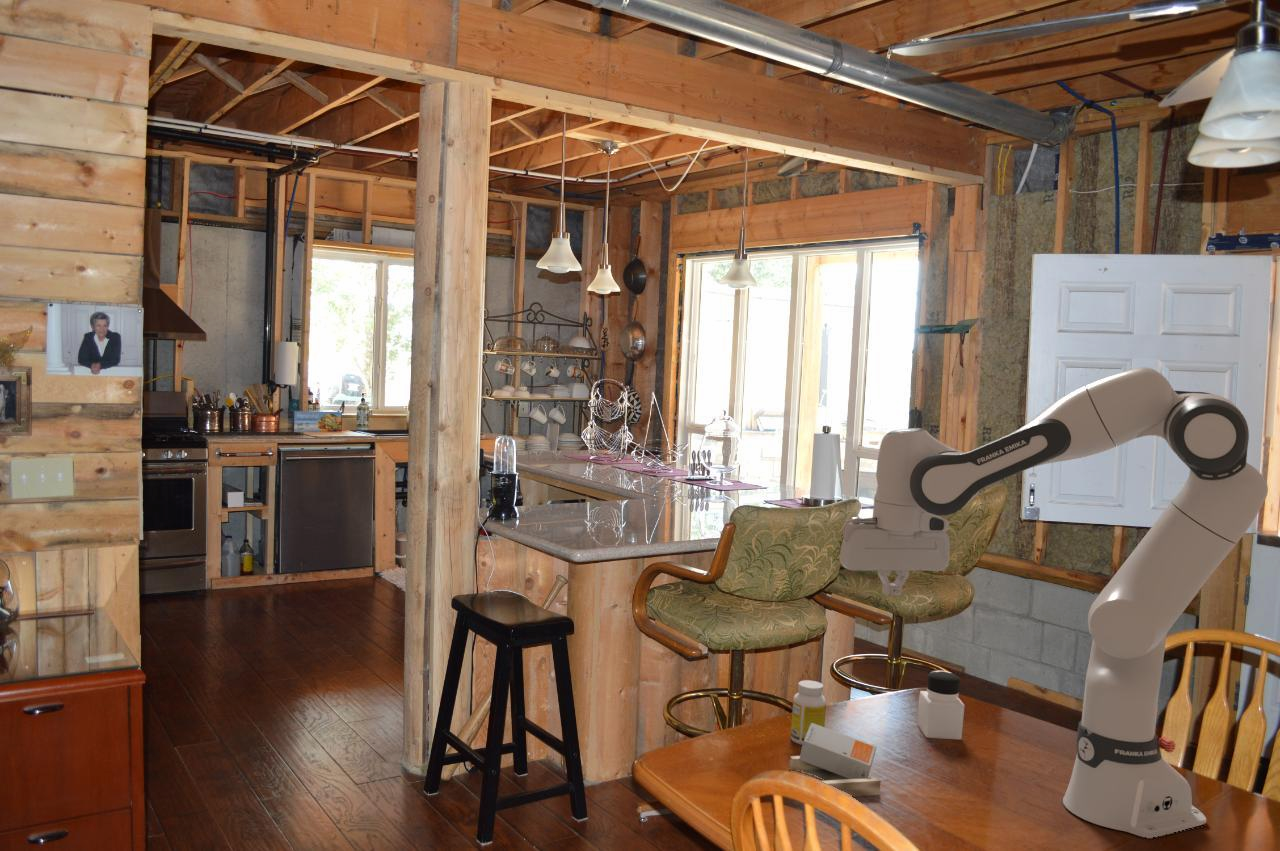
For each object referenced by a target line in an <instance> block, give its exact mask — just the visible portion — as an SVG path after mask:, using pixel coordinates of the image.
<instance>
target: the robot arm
mask: <svg viewBox="0 0 1280 851" xmlns="http://www.w3.org/2000/svg"><path fill="white" fill-rule="evenodd" d="M1148 436H1149V437H1150V436H1151V437H1152V436H1156V437H1159V438H1162V439H1164V440H1165V441H1166V443H1167V444H1168V446H1169V447H1170V450H1172V451H1173V453H1174V454H1175V455H1177V457H1178V458H1179V459H1180V461H1182V462H1183V463H1184V464H1185V465H1186V466H1187V468H1189V474H1188V477H1187V479H1186V481H1185V483H1184V486H1183V487H1182V488H1181V489H1180V491H1179V492H1178V493H1177V494H1176V495H1175V497H1174V498H1173V499H1172V501H1171V502H1169V504H1168V505H1167V507H1166V508H1165V509H1164V511H1163V512H1162V513H1161V514H1160V516H1159V517H1158V518H1157V520H1156V521H1155V522H1154V523H1153V525H1152V526H1151V527H1150V528H1149V530H1148V531H1147V532H1146V534H1145V535H1144V536H1143V538H1142V539H1141V540H1140V541H1139V543H1138V544H1137V546H1136V547H1135V548H1134V550H1132V552H1131V553H1130V555H1129V556H1128V557H1127V559H1126V560H1124V562H1123V564H1121V566H1120V567H1119V569H1118V570H1117V572H1115V574H1114V576H1112V577H1111V579H1110V580H1109V582H1108V583H1106V585H1105V586H1104V587H1103V589H1102V590H1100V593H1099V594H1098V596H1097V597H1096V598H1095V599H1094V601H1093V602H1092V603H1091V606H1090V607H1089V611H1088V615H1087V626H1088V630H1089V633H1090V636H1091V638H1092V643H1091V647H1090V655H1089V660H1088V666H1087V670H1086V675H1085V684H1084V685H1085V686H1084V693H1083V702H1082V703H1083V704H1082V712H1081V713H1082V714H1081V720H1080V721H1079V722H1078V726H1077V727H1078V728H1077V731H1076V732H1077V733H1076V752H1077V753H1076V757H1075V760H1074V763H1073V764H1074V765H1073V768H1072V771H1071V772H1072V773H1071V776H1070V780H1069V783H1068V785H1067V789H1066V792H1065V793H1064V796H1063V798H1062V803H1063V805H1064V807H1065V808H1066V809H1067V810H1068V811H1070V812H1071V813H1072V814H1074V815H1075V816H1077V817H1078V818H1081V819H1083V820H1084V821H1086V822H1090V823H1092V824H1094V825H1098V826H1101V827H1105V828H1109V829H1113V830H1116V831H1122V832H1126V833H1130V834H1133V835H1135V836H1138V837H1142V838H1145V837H1146V838H1145V839H1153V837H1155V838H1159V837H1163V836H1167V835H1170V834H1171V835H1172V834H1175V833H1174V832H1176V833H1179V832H1178V831H1180V832H1183V831H1182V830H1184V831H1186V830H1185V829H1188V828H1192V827H1195V826H1199V825H1202V824H1204V823H1206V822H1207V817H1206V815H1204V813H1203V812H1201V810H1199V809H1198V808H1196V807H1195V806H1194V805H1193V804H1192V800H1193V799H1192V789H1191V786H1190V783H1189V781H1188V780H1187V779H1186V778H1185V777H1184V776H1183V775H1182V774H1181V773H1180V772H1178V771H1177V770H1176V769H1175V768H1174V767H1173V766H1172V765H1170V763H1169V762H1167V760H1166V759H1164V758H1163V757H1162V752H1161V749H1162V750H1164V751H1165V752H1167V753H1170V754H1171V753H1173V752H1174V750H1175V749H1176V748H1177V746H1176V743H1175V741H1174V740H1172V739H1169V738H1167V737H1166V736H1163V737H1158V735H1157V734H1156V725H1157V714H1158V713H1157V712H1158V703H1159V694H1160V688H1161V680H1162V674H1163V672H1162V671H1163V668H1164V667H1163V665H1164V660H1165V659H1164V657H1165V649H1166V643H1167V634H1168V633H1169V631H1170V630H1171V628H1172V627H1173V626H1174V624H1175V623H1176V621H1177V620H1178V619H1179V618H1180V616H1182V614H1183V613H1184V611H1185V610H1186V609H1187V607H1188V606H1189V605H1190V603H1191V602H1192V601H1193V600H1194V598H1195V597H1196V596H1197V594H1198V593H1199V591H1200V590H1201V588H1202V587H1203V586H1204V584H1206V582H1207V580H1208V579H1210V577H1211V576H1212V574H1213V573H1214V572H1215V571H1216V570H1217V568H1218V567H1219V566H1220V565H1221V563H1223V561H1224V560H1225V559H1226V557H1227V556H1229V554H1230V553H1231V551H1232V550H1233V549H1234V548H1235V547H1236V546H1237V543H1239V542H1240V540H1241V539H1242V538H1243V536H1244V535H1245V534H1246V532H1247V531H1248V530H1249V528H1250V527H1251V525H1252V524H1253V522H1254V520H1255V519H1256V517H1257V515H1258V514H1259V512H1260V510H1261V509H1262V506H1263V504H1264V503H1265V500H1266V498H1267V496H1268V492H1269V488H1268V483H1267V481H1266V479H1265V477H1264V476H1263V475H1262V473H1260V471H1259V470H1258V469H1257V468H1255V467H1254V466H1253V465H1251V464H1250V463H1248V462H1247V460H1248V458H1247V457H1248V447H1249V439H1250V438H1249V437H1250V433H1249V426H1248V423H1247V420H1246V418H1245V416H1244V415H1243V413H1242V411H1241V410H1240V409H1239V407H1238V406H1236V405H1235V403H1233V402H1232V401H1231V400H1230V399H1227V398H1225V397H1223V396H1221V395H1217V394H1214V393H1211V392H1210V393H1209V392H1205V391H1187V390H1186V391H1184V390H1174V388H1173V387H1172V385H1171V383H1170V382H1169V381H1168V378H1166V377H1165V376H1164V375H1163V374H1162V373H1161V372H1159V371H1158V370H1157V369H1156V370H1155V369H1154V368H1150V367H1145V366H1144V367H1143V366H1142V367H1137V368H1134V369H1130V370H1125V371H1122V372H1118V373H1115V374H1113V375H1112V374H1111V375H1109V376H1106V377H1104V378H1103V377H1102V378H1100V379H1098V380H1095V381H1093V382H1090V383H1088V384H1086V385H1083V386H1081V387H1079V388H1077V389H1074V390H1073V391H1071V392H1069V393H1067V394H1066V395H1064V396H1062V397H1060V398H1059V399H1058V400H1056V401H1054V402H1053V403H1051V404H1050V405H1049V406H1047V407H1046V408H1045V409H1043V410H1042V411H1041V412H1040V413H1039V414H1037V415H1036V416H1035V417H1033V418H1032V419H1031V420H1030V421H1028V423H1025V425H1023V426H1021V427H1020V428H1019V429H1017V430H1014V431H1013V432H1012V433H1010V434H1007V435H1005V436H1002V437H1000V438H998V439H995V440H993V441H991V442H989V443H986V444H984V445H981V446H979V447H977V448H974V449H973V450H972V449H971V450H970V451H967V452H965V451H964V452H963V451H961V450H959V449H955V448H953V447H951V446H949V445H947V444H945V443H943V442H941V441H940V440H939V439H937V438H935V436H932V435H931V434H930V433H929V432H928V430H926V429H924V428H919V427H918V428H917V427H916V428H914V427H913V428H902V429H895V430H892V431H889V432H888V433H886V434H885V435H884V436H883V438H882V440H881V442H880V446H879V449H878V456H877V462H876V473H875V476H876V482H877V488H876V492H875V495H874V497H873V510H872V517H858V516H857V517H855V516H854V517H852V518H851V519H849V520H847V522H846V523H845V524H844V525H843V530H842V531H843V533H842V534H843V540H842V543H841V548H840V553H839V563H840V564H841V566H842V567H843V568H844V569H846V570H849V571H877V576H878V577H879V578H878V579H879V580H880V582H881V584H882V586H881V587H882V589H881V591H882V594H883V595H885V596H901V595H902V589H903V586H904V584H905V582H906V581H907V580H908V578H909V577H910V571H919V572H920V571H929V572H931V571H937V572H938V571H939V572H940V571H941V572H942V571H945V570H946V569H947V567H948V566H949V565H950V564H949V563H950V555H951V554H950V553H951V550H950V549H951V544H950V542H951V541H950V538H949V535H948V534H947V531H948V530H949V528H950V521H949V520H948V519H945V518H943V517H941V516H948V515H949V516H950V515H953V514H955V513H957V512H958V511H960V510H962V509H963V508H964V507H965V506H966V505H967V504H968V503H969V502H971V501H972V500H974V499H975V498H976V497H977V496H978V495H979V493H980V492H981V490H983V489H984V488H987V487H989V486H992V485H993V484H995V483H998V482H1000V481H1003V480H1005V479H1008V478H1009V477H1012V476H1014V475H1016V474H1019V473H1022V472H1024V471H1026V470H1028V469H1031V468H1034V467H1038V466H1042V465H1047V464H1053V463H1059V462H1065V461H1071V460H1076V459H1077V460H1078V459H1081V458H1085V457H1089V456H1093V455H1096V454H1097V455H1098V454H1100V453H1102V452H1103V453H1104V452H1106V451H1108V450H1112V449H1114V448H1116V447H1119V446H1121V445H1123V444H1126V443H1127V442H1130V441H1132V440H1135V439H1139V438H1142V437H1148ZM891 571H895V574H897V576H896V579H895V580H894V582H893V583H892V582H890V579H889V578H888V577H890V576H891ZM1192 829H1193V828H1192ZM1188 830H1189V829H1188ZM1166 834H1167V835H1166ZM1158 836H1159V837H1158Z"/></svg>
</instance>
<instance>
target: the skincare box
mask: <svg viewBox="0 0 1280 851" xmlns="http://www.w3.org/2000/svg"><path fill="white" fill-rule="evenodd" d="M876 751H877V746H875V745H873V744H870V743H868V742H866V741H862V740H859V739H857V738H854V737H851V736H848V735H846V734H843V733H841V732H838V731H835V730H832V729H829V728H827V727H822V726H819V725H817V724H814V723H811V725H810V727H809V729H808V732H807V735H806V737H805V739H804V742H803V745H801V751H800V754H799V756H800V758H799V759H800V760H802V761H804V762H807V763H809V764H812V765H815V766H817V767H820V768H822V769H825V770H828V771H830V772H833V773H836V774H838V775H841V776H843V777H846V778H849V779H861V778H869V777H870V776H869V775H870V771H871V769H872V765H873V762H874V758H875V756H876V755H875V754H876Z"/></svg>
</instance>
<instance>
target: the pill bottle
mask: <svg viewBox="0 0 1280 851" xmlns="http://www.w3.org/2000/svg"><path fill="white" fill-rule="evenodd" d="M797 689H798V690H797V693H795V694H794V695H793V700H792V712H791V713H792V714H791V727H790V729H791V730H790V738H791V740H792V742H793V743H796V744H798V745H800V746H802V745H803V742H804V739H805V737H806V735H807V732H808V729H809V727H810V725H811V723H814V724H817V725H819V726H822V727H825V726H826V709H827V700H826V698H825V696H824V695H823V694H824V684H823V683H821V682H820V681H816V680H810V679H809V680H808V679H807V680H800V681H799V682H798V686H797ZM825 728H826V727H825Z"/></svg>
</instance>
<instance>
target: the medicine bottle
mask: <svg viewBox="0 0 1280 851" xmlns="http://www.w3.org/2000/svg"><path fill="white" fill-rule="evenodd" d="M960 683H961V679H960V677H959V676H958V675H957V674H956V673H953V672H950V671H947V670H933V671H931V672H929V673H928V674H927V686H926V690H920V691H919V697H918V698H919V699H918V708H917V709H918V710H917V722H916V725H917V726H918V728H919V730H920V731H921V732H922V733H923V735H924V736H925V738H927V739H943V740H955V741H961V740H962V739H963V733H964V732H963V731H964V720H965V712H966V711H965V710H966V705H965V704H964V703H963V701H962V700H961V699H960V698H959V694H960Z"/></svg>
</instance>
